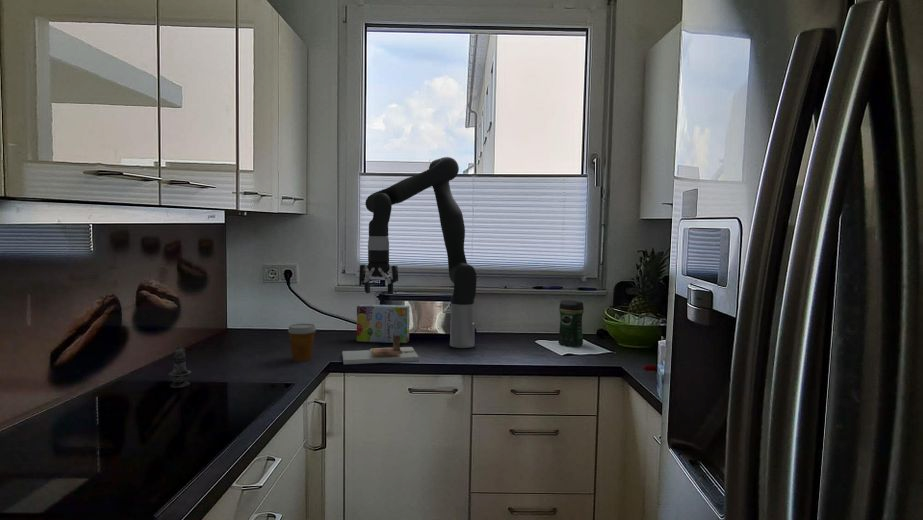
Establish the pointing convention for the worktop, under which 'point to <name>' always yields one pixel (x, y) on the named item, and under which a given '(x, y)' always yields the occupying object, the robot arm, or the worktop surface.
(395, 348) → the stub
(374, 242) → the robot arm
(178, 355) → the dark grey tiered piece
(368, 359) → the board
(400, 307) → the snack box
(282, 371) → the worktop surface
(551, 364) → the worktop surface
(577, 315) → the coffee jar
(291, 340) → the disposable coffee cup
